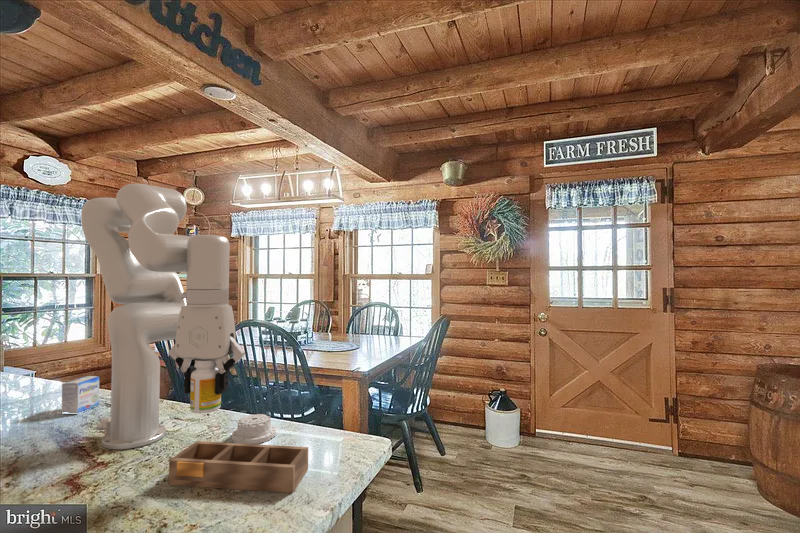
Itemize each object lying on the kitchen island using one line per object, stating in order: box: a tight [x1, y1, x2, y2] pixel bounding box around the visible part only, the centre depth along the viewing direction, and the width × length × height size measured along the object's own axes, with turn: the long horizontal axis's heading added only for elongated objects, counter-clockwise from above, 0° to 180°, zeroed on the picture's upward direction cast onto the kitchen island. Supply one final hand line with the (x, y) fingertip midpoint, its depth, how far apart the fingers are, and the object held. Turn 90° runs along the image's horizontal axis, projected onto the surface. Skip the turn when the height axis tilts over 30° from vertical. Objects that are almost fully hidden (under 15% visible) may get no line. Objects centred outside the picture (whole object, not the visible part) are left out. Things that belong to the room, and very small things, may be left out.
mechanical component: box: [231, 413, 277, 445], centre depth 97 cm, size 10×4×10 cm
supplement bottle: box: [189, 359, 222, 414], centre depth 78 cm, size 5×5×10 cm
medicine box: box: [61, 375, 100, 413], centre depth 113 cm, size 8×4×9 cm, turn 179°
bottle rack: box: [168, 440, 309, 494], centre depth 77 cm, size 24×9×4 cm, turn 85°
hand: (206, 391), depth 78 cm, fingers closed on supplement bottle, 5 cm apart
